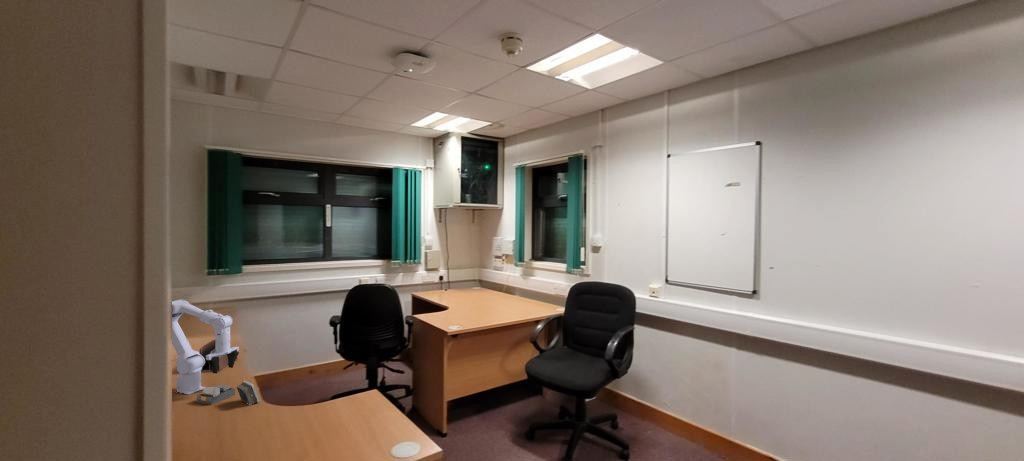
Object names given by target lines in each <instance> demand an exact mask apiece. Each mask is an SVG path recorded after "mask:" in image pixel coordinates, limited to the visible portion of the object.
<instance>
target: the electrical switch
mask: <svg viewBox="0 0 1024 461" xmlns="http://www.w3.org/2000/svg"><path fill="white" fill-rule="evenodd" d="M236 389H237V392H238V394H239V397H240V400H241V402H242V401H243V403H244V402H245V404H246V403H248V404H250V405H249V406H252V405H253V404H255V403H256V404H259V403H260V398H259V395H258V392H257V390H256V387H255V385H254V384H253V383H251V382H249V381H246V380H242V383H240V384H239V385H237V386H236ZM248 404H247V405H248Z"/></svg>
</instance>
